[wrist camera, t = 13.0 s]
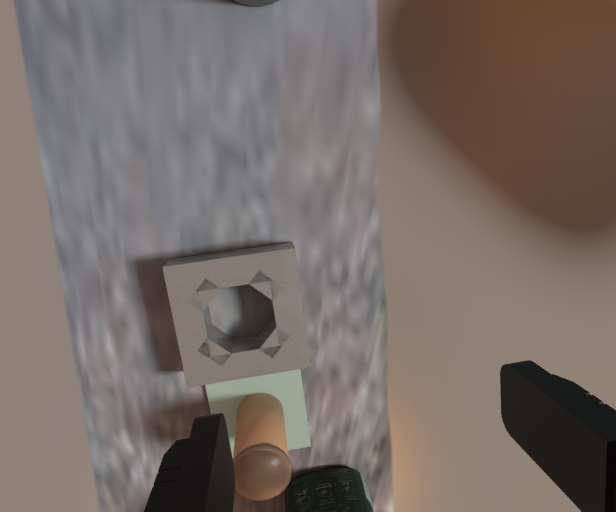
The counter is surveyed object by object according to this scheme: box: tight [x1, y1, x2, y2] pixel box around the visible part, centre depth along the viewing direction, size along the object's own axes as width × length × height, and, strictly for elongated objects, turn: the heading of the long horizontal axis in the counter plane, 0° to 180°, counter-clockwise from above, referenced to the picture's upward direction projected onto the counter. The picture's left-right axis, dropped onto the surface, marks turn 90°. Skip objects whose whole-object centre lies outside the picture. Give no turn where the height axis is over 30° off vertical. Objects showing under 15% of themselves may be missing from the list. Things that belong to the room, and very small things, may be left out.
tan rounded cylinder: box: [233, 393, 291, 501], centre depth 39 cm, size 5×5×9 cm
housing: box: [162, 242, 311, 388], centre depth 40 cm, size 12×12×4 cm
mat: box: [205, 369, 311, 458], centre depth 44 cm, size 10×10×1 cm
